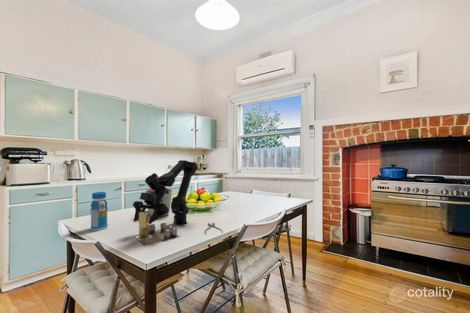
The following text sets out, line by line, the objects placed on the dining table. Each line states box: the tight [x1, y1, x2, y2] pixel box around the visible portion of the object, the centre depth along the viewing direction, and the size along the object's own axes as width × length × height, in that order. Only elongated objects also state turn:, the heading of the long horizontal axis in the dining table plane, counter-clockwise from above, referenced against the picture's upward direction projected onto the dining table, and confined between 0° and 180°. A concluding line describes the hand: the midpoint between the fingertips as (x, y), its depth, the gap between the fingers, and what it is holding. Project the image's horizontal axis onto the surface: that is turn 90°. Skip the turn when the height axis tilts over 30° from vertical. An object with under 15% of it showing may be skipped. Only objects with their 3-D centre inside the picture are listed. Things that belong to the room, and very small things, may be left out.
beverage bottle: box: [89, 191, 109, 231], centre depth 130 cm, size 8×8×20 cm
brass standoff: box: [138, 210, 150, 239], centre depth 112 cm, size 4×4×12 cm
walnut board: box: [132, 229, 181, 247], centre depth 113 cm, size 18×17×1 cm
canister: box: [144, 187, 173, 217], centre depth 159 cm, size 18×18×21 cm
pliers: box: [204, 222, 224, 235], centre depth 129 cm, size 10×1×20 cm
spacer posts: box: [149, 222, 178, 241], centre depth 116 cm, size 9×16×4 cm, turn 40°
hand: (141, 222), depth 110 cm, fingers open, 9 cm apart
